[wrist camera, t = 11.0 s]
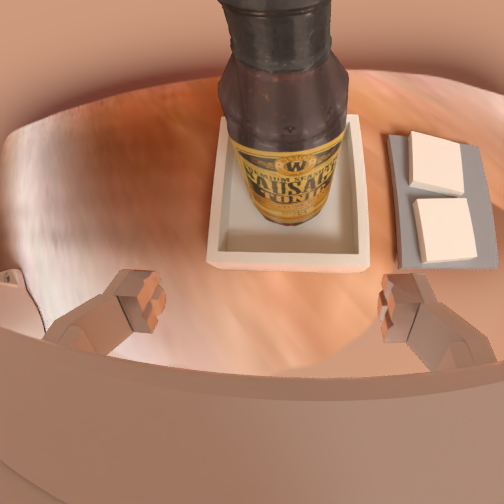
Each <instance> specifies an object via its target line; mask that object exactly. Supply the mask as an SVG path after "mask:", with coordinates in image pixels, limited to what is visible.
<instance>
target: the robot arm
mask: <svg viewBox="0 0 504 504" xmlns="http://www.w3.org/2000/svg"><path fill="white" fill-rule="evenodd" d="M159 282H160V277H159V274H158V272H156V271H148V270H129V269H123V270H120V271H119V273H118V274H117V275H116V277H115V278H114V279H113V281H112V282H111V283H110V285H109V286H108V287H107V289H106V290H105V292H104V293H103V294H102V295H101V294H99V295H97V296H96V297H94V298H92V299H90V300H89V301H87V302H85V303H84V304H82V305H80V306H78V307H77V308H75V309H73V310H72V311H70V312H68V313H67V314H65V315H63V316H62V317H60V318H58V319H57V320H55V321H54V322H53V324H52V325H51V326H50V328H49V329H48V331H47V332H46V333H45V332H44V327H43V324H42V320H41V317H40V315H39V312H38V310H37V308H36V306H35V304H34V302H33V300H32V299H31V297H30V296H29V294H28V292H27V290H26V287H25V283H24V279H23V275H22V272H21V271H20V270H19V269H9V270H6V271H2V272H0V504H504V361H500V362H497V359H496V357H495V355H494V352H493V350H492V347H491V345H490V343H489V340H488V338H487V337H486V336H485V335H484V334H482V333H481V332H480V331H478V330H477V329H476V328H475V327H473V326H472V325H471V324H469V323H468V322H467V321H465V320H464V319H463V318H462V317H460V316H459V315H458V314H456V313H455V312H454V311H452V310H451V309H450V308H448V307H447V306H446V305H444V304H443V303H438V301H437V299H436V297H435V295H434V292H433V290H432V288H431V286H430V283H429V282H428V279H427V277H426V275H425V274H424V273H410V274H384V275H383V278H382V283H381V284H382V288H383V290H382V291H381V292H380V293H379V298H378V316H379V320H381V321H382V322H383V323H382V327H381V331H382V336H383V341H384V343H398V342H399V343H400V342H407V343H406V344H407V345H408V346H409V347H410V348H411V349H412V351H413V352H414V353H415V354H416V355H417V356H418V357H419V358H420V360H421V361H422V362H423V363H424V364H425V365H426V367H427V368H428V369H429V370H430V371H431V372H427V373H416V374H405V375H392V376H376V377H353V378H352V377H351V378H300V377H272V376H254V375H240V374H228V373H217V372H208V371H199V370H190V369H182V368H175V367H168V366H161V365H155V364H149V363H143V362H137V361H131V360H126V359H120V358H116V357H111V356H106V355H107V354H109V353H110V352H111V351H112V350H113V349H114V348H116V347H117V346H118V345H119V344H120V343H122V342H123V341H124V340H125V339H126V338H127V337H129V336H130V335H131V334H132V333H133V332H141V333H151V334H152V333H153V331H154V329H155V326H156V324H157V322H158V319H157V316H158V315H160V314H161V313H162V312H163V310H164V308H165V303H166V297H165V292H164V289H163V288H162V287H161V286H160V285H159Z"/></svg>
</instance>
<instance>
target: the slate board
mask: <svg viewBox="0 0 504 504" xmlns="http://www.w3.org/2000/svg"><path fill="white" fill-rule="evenodd" d="M408 137H409V136H400V135H389V136H388V138H387V141H386V143H387V149H388V156H389V163H390V170H391V178H392V187H393V196H394V207H395V219H396V234H397V255H398V270H494V269H497V268H498V267H499V265H498V254H497V242H496V234H495V227H494V219H493V213H492V206H491V201H490V195H489V190H488V185H487V180H486V176H485V171H484V167H483V163H482V159H481V155H480V151H479V148H478V146H474V145H468V144H462V143H459V144H460V151H461V160H462V170H463V182H464V193H463V194H462V195H461V196H460V197H459V198H466V199H467V203H468V207H469V212H470V217H471V222H472V227H473V233H474V238H475V244H476V251H477V257H475V258H473V259H469V260H459V261H448V262H437V263H426V264H421V256H420V248H419V241H418V234H417V228H416V221H415V216H414V210H413V205H412V204H413V203H414V202H415V201H416V200H417V199H438V198H457V197H453V196H449V195H445V194H441V193H437V192H432V191H428V190H423V189H419V188H414V187H410V186H409V149H408ZM455 143H456V142H455Z"/></svg>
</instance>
